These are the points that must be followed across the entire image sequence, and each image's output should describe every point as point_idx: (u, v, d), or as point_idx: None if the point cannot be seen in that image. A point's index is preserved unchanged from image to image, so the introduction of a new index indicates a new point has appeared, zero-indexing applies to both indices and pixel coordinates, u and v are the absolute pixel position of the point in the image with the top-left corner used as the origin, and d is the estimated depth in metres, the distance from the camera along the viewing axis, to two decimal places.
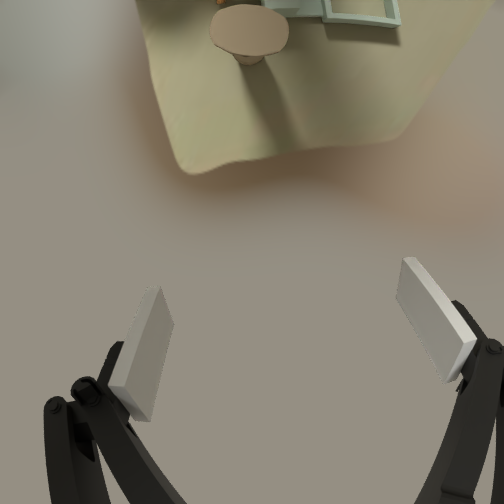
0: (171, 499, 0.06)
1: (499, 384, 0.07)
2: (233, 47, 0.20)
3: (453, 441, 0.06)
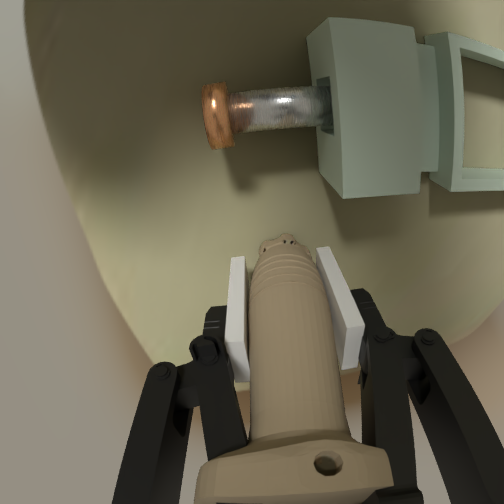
0: None
1: (402, 369, 0.09)
2: None
3: (371, 441, 0.07)
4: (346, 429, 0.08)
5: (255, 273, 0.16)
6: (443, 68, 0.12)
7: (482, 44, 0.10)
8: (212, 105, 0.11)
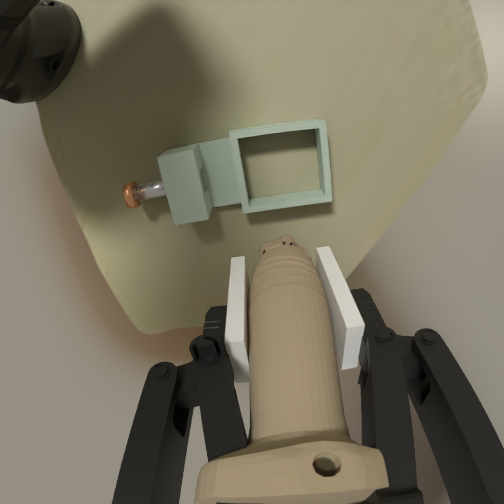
0: None
1: (402, 369, 0.09)
2: None
3: (371, 441, 0.07)
4: (345, 430, 0.08)
5: (255, 275, 0.16)
6: None
7: (255, 129, 0.30)
8: (126, 194, 0.32)
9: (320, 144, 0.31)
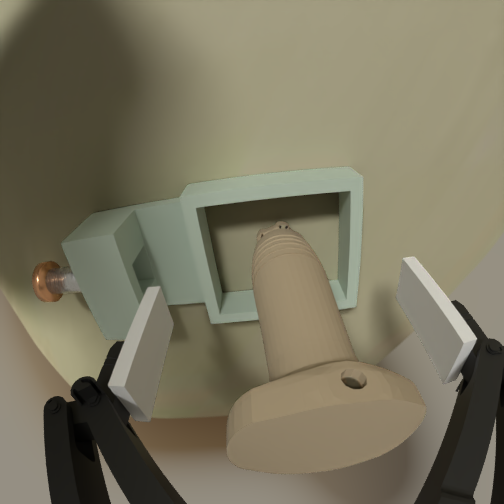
0: (171, 499, 0.06)
1: (499, 384, 0.07)
2: (286, 469, 0.08)
3: (453, 441, 0.06)
4: None
5: (256, 253, 0.17)
6: None
7: (229, 191, 0.17)
8: (36, 287, 0.18)
9: (348, 218, 0.18)
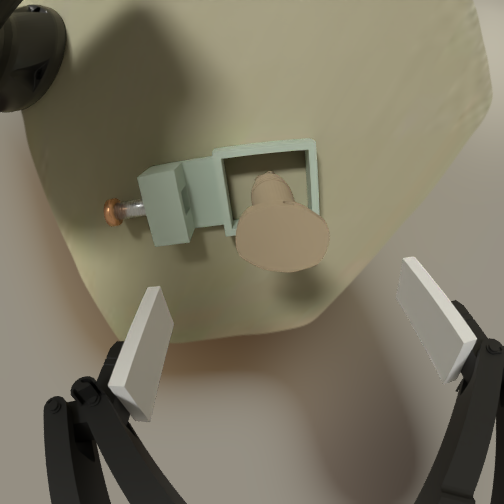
0: (171, 499, 0.06)
1: (499, 384, 0.07)
2: (263, 262, 0.21)
3: (453, 441, 0.06)
4: None
5: (254, 184, 0.30)
6: None
7: (240, 149, 0.29)
8: (107, 213, 0.31)
9: (309, 166, 0.30)
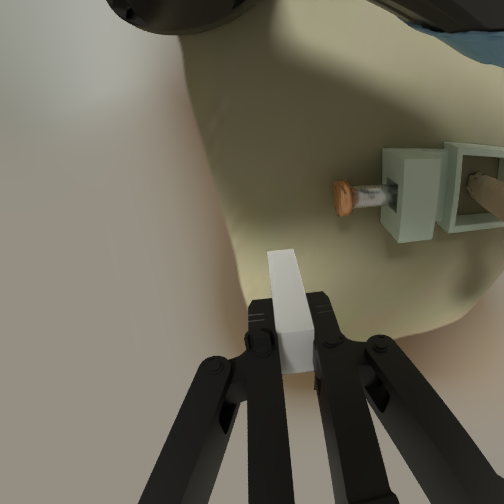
0: (291, 475, 0.06)
1: (356, 373, 0.09)
2: None
3: (334, 449, 0.07)
4: None
5: (485, 185, 0.23)
6: (451, 166, 0.25)
7: (476, 149, 0.23)
8: (346, 198, 0.24)
9: None
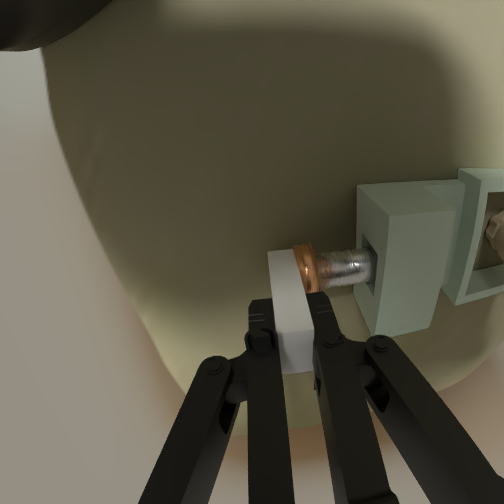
0: (291, 475, 0.06)
1: (356, 373, 0.09)
2: None
3: (334, 449, 0.07)
4: None
5: None
6: (469, 209, 0.15)
7: None
8: (308, 281, 0.15)
9: None
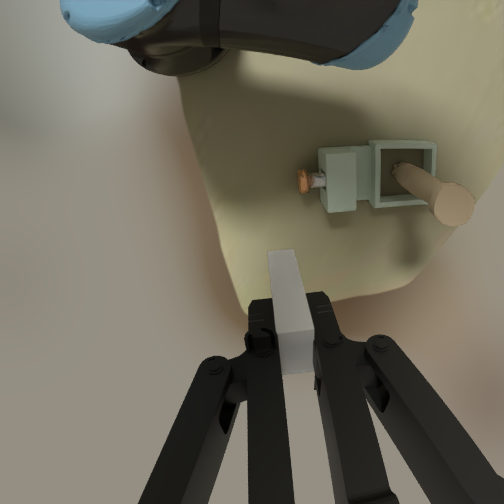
0: (291, 475, 0.06)
1: (356, 373, 0.09)
2: (444, 219, 0.28)
3: (334, 449, 0.07)
4: None
5: (402, 170, 0.37)
6: (373, 157, 0.38)
7: (393, 143, 0.36)
8: (304, 180, 0.38)
9: (430, 160, 0.37)
